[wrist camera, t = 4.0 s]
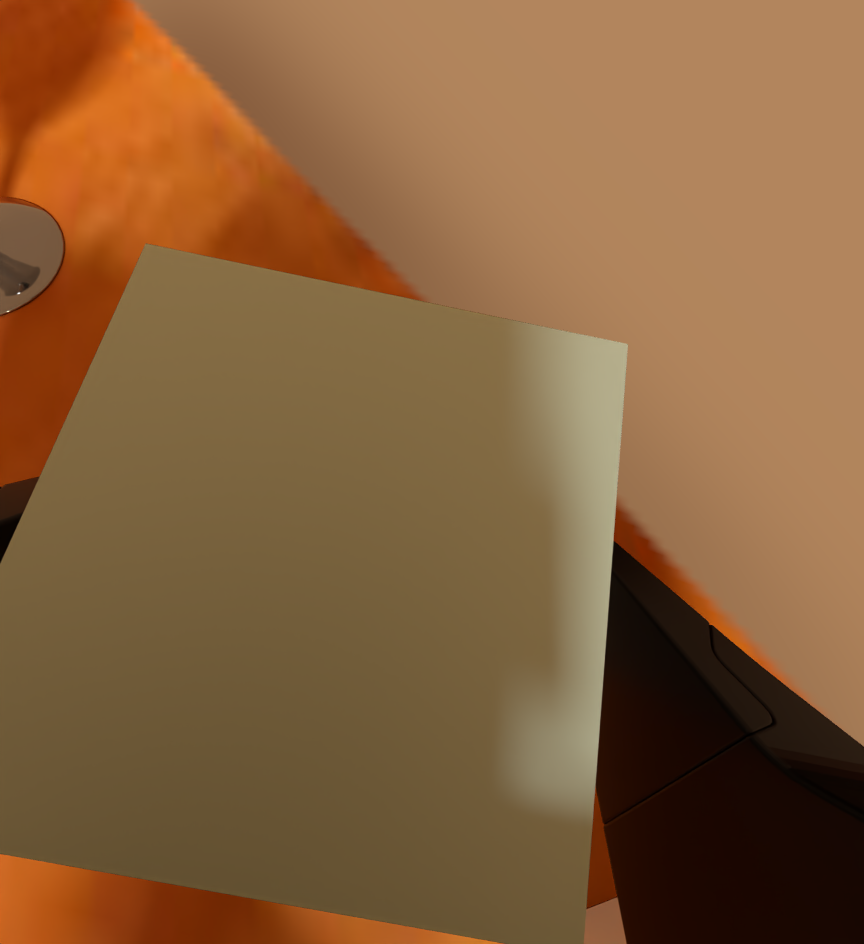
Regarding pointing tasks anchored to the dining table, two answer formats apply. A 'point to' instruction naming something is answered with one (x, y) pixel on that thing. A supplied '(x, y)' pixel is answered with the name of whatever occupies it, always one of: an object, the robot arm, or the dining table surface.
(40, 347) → the dining table surface
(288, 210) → the dining table surface
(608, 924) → the pale pink tall block
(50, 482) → the sage block
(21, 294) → the wine glass
